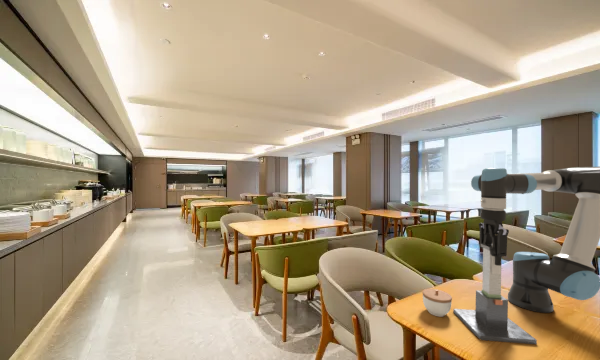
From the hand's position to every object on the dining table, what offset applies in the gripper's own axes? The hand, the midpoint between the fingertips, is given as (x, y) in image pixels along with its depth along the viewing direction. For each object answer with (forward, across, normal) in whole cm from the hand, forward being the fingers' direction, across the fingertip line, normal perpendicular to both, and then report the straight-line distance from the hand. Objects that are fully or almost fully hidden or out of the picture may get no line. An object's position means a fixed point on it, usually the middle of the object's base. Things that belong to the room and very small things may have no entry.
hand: (491, 270), depth 94 cm
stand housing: (+21, 0, 0) cm, 21 cm away
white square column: (+12, 0, 0) cm, 12 cm away
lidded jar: (+21, -8, -16) cm, 28 cm away
